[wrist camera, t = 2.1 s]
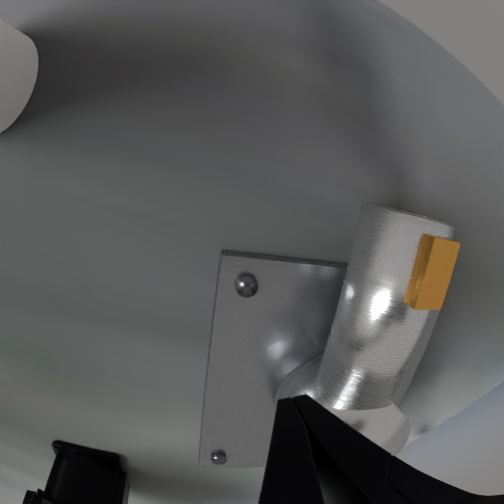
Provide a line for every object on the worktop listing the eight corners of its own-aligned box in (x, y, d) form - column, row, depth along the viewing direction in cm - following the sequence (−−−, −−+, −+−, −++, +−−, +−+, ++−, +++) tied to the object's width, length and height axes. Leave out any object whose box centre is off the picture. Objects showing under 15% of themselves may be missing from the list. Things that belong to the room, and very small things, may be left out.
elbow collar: (351, 422, 22) (383, 480, 16) (265, 429, 20) (284, 498, 14) (422, 213, 17) (497, 239, 11) (320, 192, 16) (382, 212, 10)
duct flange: (198, 459, 22) (199, 491, 19) (221, 249, 18) (225, 270, 14) (366, 449, 25) (379, 473, 22) (442, 274, 20) (471, 291, 17)
